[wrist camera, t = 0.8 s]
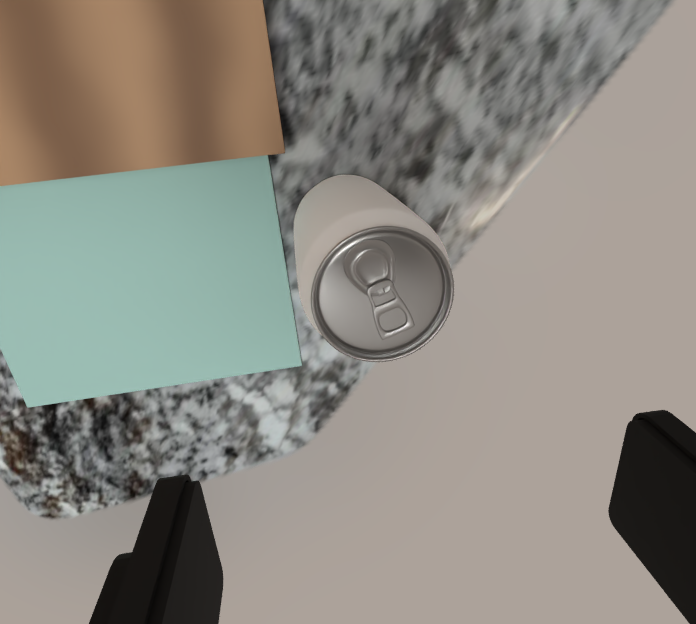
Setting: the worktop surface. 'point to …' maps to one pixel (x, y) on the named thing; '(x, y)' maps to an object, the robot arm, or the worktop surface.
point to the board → (132, 86)
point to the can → (369, 270)
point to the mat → (143, 280)
